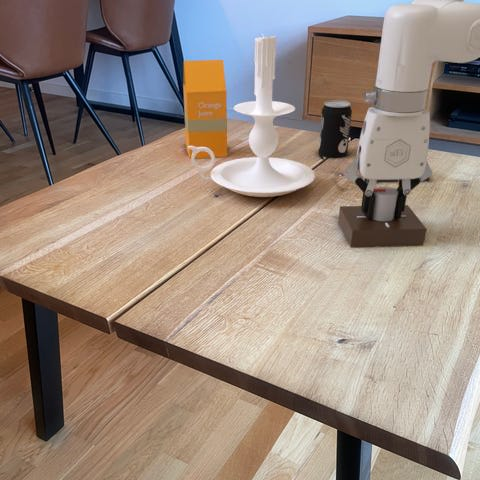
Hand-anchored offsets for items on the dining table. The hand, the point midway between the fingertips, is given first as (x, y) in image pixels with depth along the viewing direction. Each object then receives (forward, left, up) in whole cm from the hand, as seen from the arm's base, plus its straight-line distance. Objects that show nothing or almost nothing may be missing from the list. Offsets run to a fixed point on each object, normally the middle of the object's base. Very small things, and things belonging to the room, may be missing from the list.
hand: (381, 214), depth 92 cm
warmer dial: (0, 0, 0) cm, 0 cm away
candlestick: (+20, -22, -4) cm, 30 cm away
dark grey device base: (-10, -27, -3) cm, 29 cm away
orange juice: (+29, -46, -4) cm, 54 cm away
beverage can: (0, -41, -4) cm, 41 cm away
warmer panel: (0, 0, -3) cm, 3 cm away
